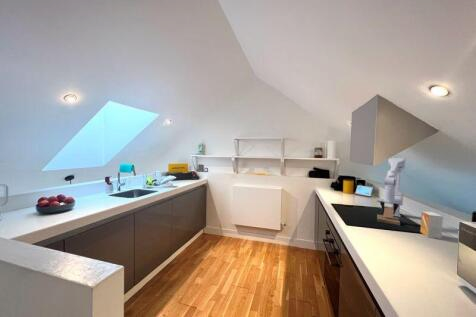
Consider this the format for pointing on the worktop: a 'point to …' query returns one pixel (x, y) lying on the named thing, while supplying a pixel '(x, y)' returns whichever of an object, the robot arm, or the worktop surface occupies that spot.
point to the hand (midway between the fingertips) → (388, 213)
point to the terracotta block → (388, 211)
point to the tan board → (388, 219)
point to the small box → (431, 224)
